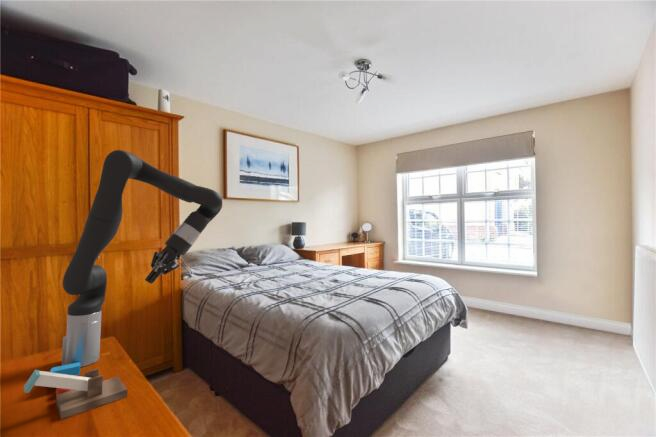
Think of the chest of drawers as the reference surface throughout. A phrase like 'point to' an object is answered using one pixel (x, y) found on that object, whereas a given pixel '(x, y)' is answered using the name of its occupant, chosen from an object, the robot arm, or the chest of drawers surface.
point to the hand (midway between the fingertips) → (148, 282)
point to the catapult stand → (90, 395)
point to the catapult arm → (56, 381)
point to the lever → (68, 370)
